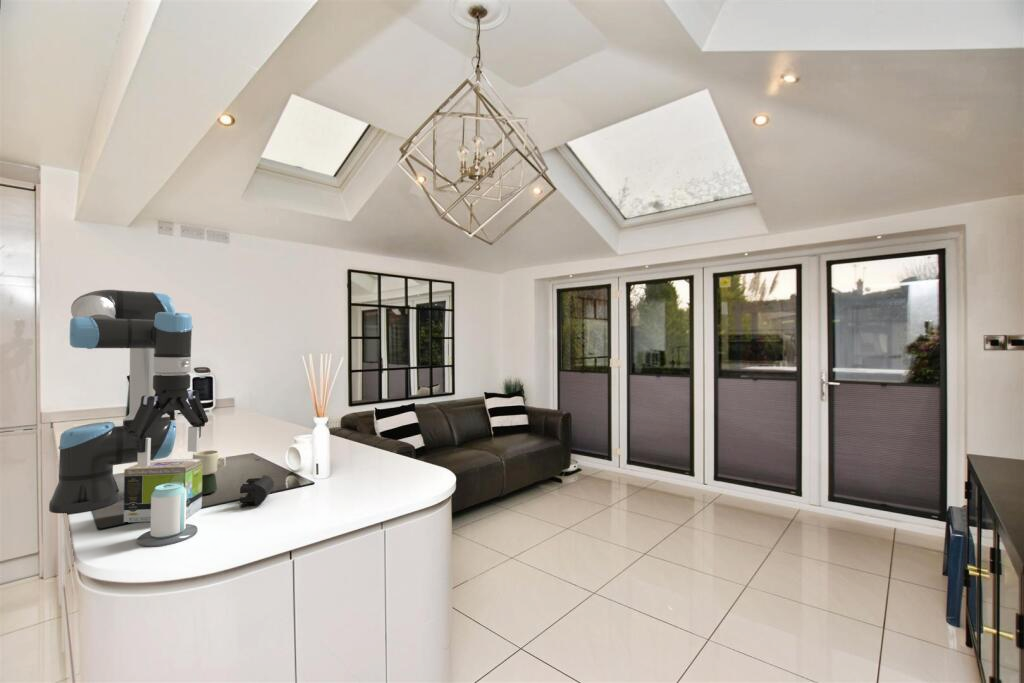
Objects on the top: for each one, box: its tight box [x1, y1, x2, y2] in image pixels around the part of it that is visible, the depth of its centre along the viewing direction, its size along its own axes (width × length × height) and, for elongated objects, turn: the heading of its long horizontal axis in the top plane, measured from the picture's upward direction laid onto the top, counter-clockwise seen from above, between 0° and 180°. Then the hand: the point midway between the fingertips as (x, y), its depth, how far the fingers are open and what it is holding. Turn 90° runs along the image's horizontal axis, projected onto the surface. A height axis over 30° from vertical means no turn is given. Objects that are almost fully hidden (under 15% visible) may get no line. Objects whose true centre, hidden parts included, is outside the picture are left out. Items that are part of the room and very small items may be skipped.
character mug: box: [192, 449, 227, 495], centre depth 144 cm, size 11×7×13 cm, turn 109°
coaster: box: [136, 523, 198, 548], centre depth 113 cm, size 12×12×1 cm
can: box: [149, 483, 187, 538], centre depth 113 cm, size 7×7×12 cm
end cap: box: [239, 475, 275, 509], centre depth 138 cm, size 10×7×7 cm
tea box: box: [123, 458, 203, 523], centre depth 126 cm, size 15×10×15 cm, turn 100°
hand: (169, 458), depth 113 cm, fingers open, 13 cm apart
